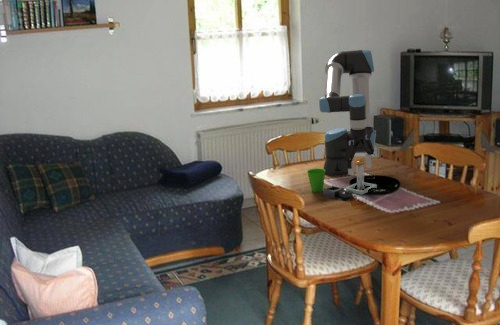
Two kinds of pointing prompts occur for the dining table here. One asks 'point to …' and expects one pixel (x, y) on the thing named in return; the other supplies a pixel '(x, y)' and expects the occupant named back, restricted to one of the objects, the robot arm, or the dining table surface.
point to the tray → (350, 188)
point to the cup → (316, 179)
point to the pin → (360, 174)
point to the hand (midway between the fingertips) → (360, 171)
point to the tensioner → (338, 193)
